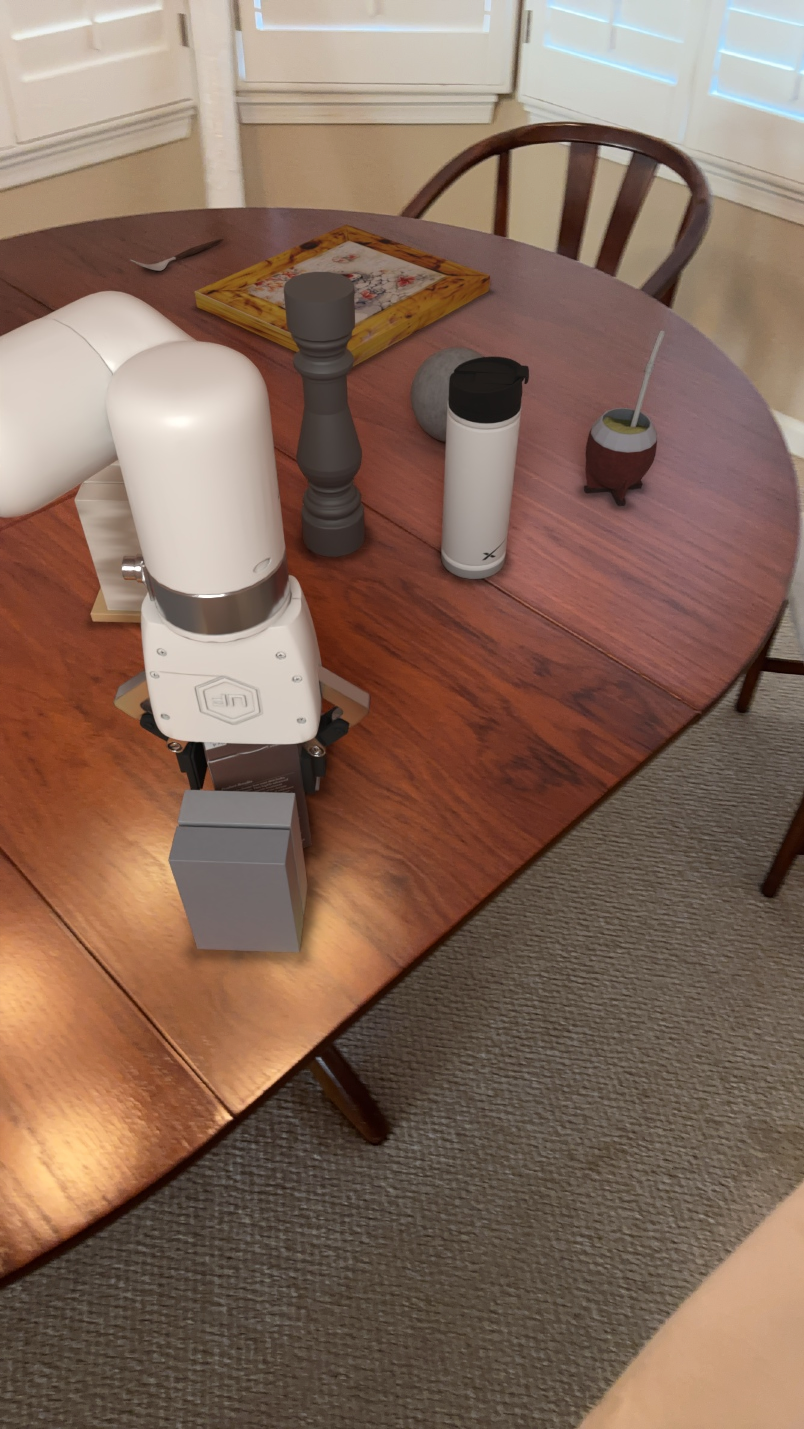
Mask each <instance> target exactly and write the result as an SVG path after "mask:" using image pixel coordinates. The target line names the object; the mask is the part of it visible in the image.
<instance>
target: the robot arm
mask: <svg viewBox="0 0 804 1429" xmlns="http://www.w3.org/2000/svg"><path fill="white" fill-rule="evenodd" d="M117 460H119V464H120V468H121V472H122V476H123V480H124V484H125V488H126V492H127V496H128V500H129V503H130V507H131V511H132V515H133V519H134V523H135V527H136V531H137V535H138V539H139V543H140V547H141V550H142V554H137V555H136V556H124V557H123V559H122V575H123V578H124V579H125V580H137V582H138V583H143V584H144V585H145V586H146V587H147V589H148V593H147V595H146V597H145V598H144V600H143V603H142V608H141V623H140V630H141V645H142V655H143V664H144V669H142V671H140V672H138V673H137V674H135V675H134V676H133V677H130V678H129V679H128V680H126V681H125V682H123V683H121V684H120V685H119V686H118V687H117V689H116V692H115V696H114V699H113V702H112V703H113V706H114V707H115V708H117V709H118V710H120V711H122V712H123V713H124V714H126V715H127V716H128V717H130V718H132V719H133V720H137V721H139V725H140V727H141V728H142V729H144V730H145V731H147V732H149V733H151V734H152V735H154V736H156V737H158V738H159V739H161V740H162V741H164V742H165V749H166V750H168V751H169V752H172V753H175V756H176V760H177V763H178V767H179V770H180V771H179V772H180V773H181V774H186V777H187V780H188V784H189V788H190V790H204V789H203V788H204V785H205V780H206V775H207V770H208V768H209V767H208V764H207V761H206V757H205V752H204V747H203V743H202V742H212V743H241V744H297V743H299V744H300V745H301V746H302V749H301V756H300V763H301V771H302V779H303V788H304V792H305V793H306V795H312V796H313V795H314V796H315V794H316V790H315V789H316V781H317V777H321V778H326V776H327V767H328V756H327V755H328V754H327V748H328V747H329V746H331V745H332V744H334V743H336V742H337V741H338V740H340V739H342V738H343V737H345V736H346V735H347V734H348V733H349V731H350V730H349V729H350V728H352V727H355V726H356V725H357V724H359V723H360V722H362V720H364V719H365V718H366V717H367V716H368V715H369V714H371V712H370V711H371V699H372V697H371V694H369V693H368V692H367V691H365V690H363V689H362V688H360V687H358V686H356V685H354V684H353V683H352V682H350V681H348V680H346V679H344V678H342V677H341V676H339V675H337V674H336V673H334V672H332V671H331V670H329V669H327V668H325V667H324V666H323V664H322V658H321V651H320V646H319V642H318V637H317V632H316V629H315V628H316V627H315V624H314V622H313V618H312V614H311V611H310V607H309V604H308V602H307V599H306V597H305V594H304V591H303V588H302V587H301V584H300V582H299V581H298V578H296V577H295V576H294V575H291V574H289V566H288V559H287V549H286V542H285V535H284V534H285V533H284V523H283V514H282V504H281V495H280V488H279V480H278V479H279V478H278V472H277V470H278V469H277V461H276V451H275V443H274V434H273V425H272V415H271V405H270V399H269V392H268V388H267V385H266V381H265V379H264V377H263V375H262V373H261V371H260V370H259V368H258V367H257V366H256V365H255V363H254V362H253V361H252V360H251V359H249V357H248V356H246V355H245V354H243V353H242V352H239V351H238V350H235V349H233V348H231V347H230V346H226V345H223V344H219V343H216V342H210V341H202V340H201V341H200V340H198V339H195V338H194V337H192V336H191V335H189V334H188V333H187V332H185V331H184V330H183V329H182V328H180V327H179V326H178V325H177V324H175V323H174V322H173V321H171V319H169V318H168V317H166V316H165V315H163V313H161V312H160V311H159V310H157V309H156V308H154V306H151V305H150V304H148V303H147V302H145V301H143V300H142V299H140V298H138V297H136V296H134V295H132V294H129V293H127V292H123V291H118V290H117V291H116V290H104V291H98V292H94V293H91V294H88V295H86V296H83V297H80V298H79V299H77V300H74V301H73V302H70V303H68V304H66V305H64V306H62V307H60V308H58V309H56V310H54V311H52V312H50V313H48V314H46V315H43V316H42V317H40V318H37V319H34V320H31V321H30V322H27V323H25V324H22V325H21V326H19V327H16V328H14V329H13V330H11V331H8V332H6V333H4V334H2V335H0V518H5V519H6V518H18V517H22V516H26V515H28V514H31V513H34V512H37V511H39V510H40V509H42V508H44V507H46V506H47V505H49V504H51V503H52V502H54V501H56V500H57V499H59V498H61V497H62V496H64V495H65V494H67V493H68V492H70V491H72V490H73V489H75V488H77V487H78V486H80V485H81V484H82V483H83V482H84V481H86V480H87V479H89V478H90V477H92V476H93V475H95V474H96V473H98V472H100V471H101V470H103V469H104V468H106V467H107V466H109V465H111V464H112V463H114V462H115V461H117ZM321 698H322V700H325V701H327V702H328V703H329V704H332V705H333V707H332V708H330V709H329V710H327V711H326V712H324V710H323V711H322V710H321Z"/></svg>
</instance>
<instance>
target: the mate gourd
mask: <svg viewBox="0 0 804 1429" xmlns="http://www.w3.org/2000/svg"><path fill="white" fill-rule="evenodd" d="M665 334H666V332H665V331H664V330H660V331H659V332H658V334H657V337H656V340H655V343H654V345H653V347H652V350H651V352H650V356H649V358H648V361H647V362H646V364H645V367H644V371H643V372H644V376H643V379H642V383H641V387H640V390H639V394H638V398H637V400H636V404H635V408H628V407H627V408H626V407H618V408H612V409H609V410H606V411H604V412H603V413H602V414H601V415H600V416H599V417H598V418H596V420H595V421H593V423H592V425H591V428H590V430H589V432H588V436H587V440H586V445H585V468H584V470H585V478H586V485H584V486H583V491H584V493H585V494H595V493H607V492H608V493H610V494H611V496H612V498H613V499H614V501H615V504H616V505H617V506H618V507H625V505H626V503H627V501H626V499H625V496H626V493H627V491H628V490H638V489H642V487H643V484H644V483H643V482H642V481H641V480H642V479H643V477H645V475H646V474H647V473H648V471H649V470H650V468H651V467H652V465H653V463H654V460H655V458H656V453H657V446H658V431H657V429H656V426H655V425H654V422H653V421H652V419H651V418H650V416H648V415H647V414H645V413H644V412H642V406H643V403H644V399H645V396H646V392H647V389H648V385H649V382H650V379H651V374H653V372H654V368H655V365H656V364H655V361H656V358H657V356H658V352H659V350H660V347H661V344H662V342H663V339H664V337H665Z"/></svg>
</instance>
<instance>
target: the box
mask: <svg viewBox="0 0 804 1429" xmlns="http://www.w3.org/2000/svg"><path fill="white" fill-rule="evenodd" d="M202 743H203V747H204V752H205V757H206V761H207V764H208V767H207V768H208V770H209V773H210V778H211V781H212V784H213V790H214V791H245V792H277V793H295V796H296V803H297V810H298V818H299V825H300V833H301V840H302V848H303V849H304V848H305V849H306V848H307V847H312V846H313V843H312V842H313V841H312V837H311V836H312V834H311V827H310V822H309V813H308V806H307V799H306V792H304V788H303V779H302V771H301V764H300V755H299V748H298V743H297V744H241V743H212V742H202Z"/></svg>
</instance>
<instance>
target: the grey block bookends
mask: <svg viewBox="0 0 804 1429" xmlns="http://www.w3.org/2000/svg"><path fill="white" fill-rule="evenodd" d="M321 710H322V711H323V712H324V710H323V698H321ZM298 748H299V755H300V756H301V749H302V746H301V745H300V744H299V743H298ZM300 764H301V763H300ZM321 778H322V777H317V781H316V789H315V791H320V784H321ZM167 861H168V864H169V867H170V871H171V873H172V877H173V879H174V882H175V884H176V888H177V891H178V894H179V898H180V901H181V903H182V906H183V909H184V913H185V916H186V918H187V921H188V924H189V927H190V930H191V933H192V937H193V939H194V942H195V945H196V949H197V950H211V951H215V950H216V951H239V952H240V951H241V952H242V951H243V952H268V953H269V952H271V953H295V954H296V953H298V954H299V953H301V945H302V937H303V928H304V917H305V912H306V903H307V894H308V887H309V885H308V878H307V871H306V870H307V869H306V863H305V856H304V848H302V840H301V833H300V825H299V818H298V810H297V803H296V796H295V793H277V792H245V791H215V790H214V789H213V790H211V789H209V790H208V789H206V790H205V789H200V790H191V789H184V792H183V797H182V800H181V805H180V809H179V813H178V818H177V826H176V827H175V830H174V835H173V839H172V842H171V847H170V852H169V856H168V860H167Z"/></svg>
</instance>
